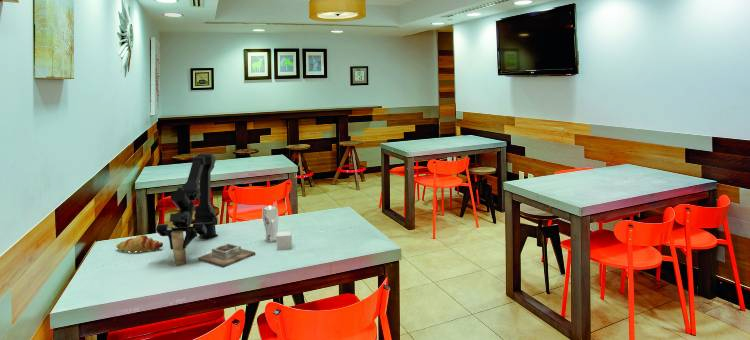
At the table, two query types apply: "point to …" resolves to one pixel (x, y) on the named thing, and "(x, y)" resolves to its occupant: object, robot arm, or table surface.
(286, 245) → the light grey cube
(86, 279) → the table surface
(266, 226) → the beer glass
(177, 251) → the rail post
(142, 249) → the croissant
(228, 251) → the cup bracket
